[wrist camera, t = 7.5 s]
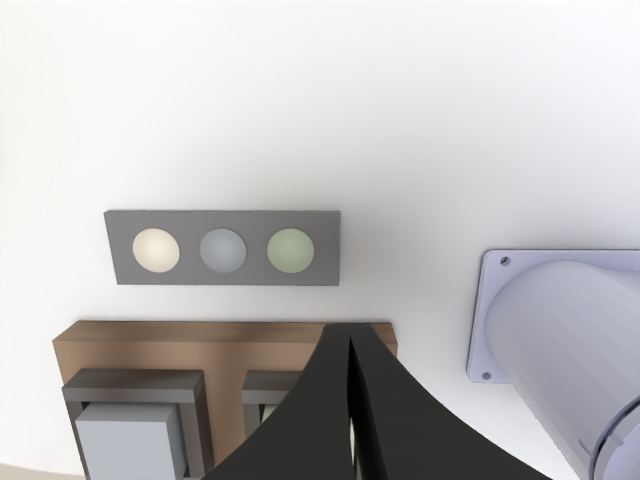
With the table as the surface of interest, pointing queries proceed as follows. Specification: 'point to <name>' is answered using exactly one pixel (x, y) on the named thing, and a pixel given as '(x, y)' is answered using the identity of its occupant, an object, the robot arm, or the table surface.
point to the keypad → (191, 375)
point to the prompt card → (224, 247)
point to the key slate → (133, 440)
